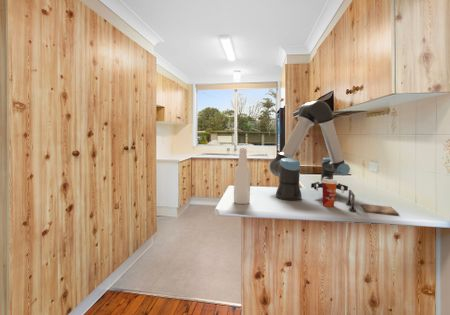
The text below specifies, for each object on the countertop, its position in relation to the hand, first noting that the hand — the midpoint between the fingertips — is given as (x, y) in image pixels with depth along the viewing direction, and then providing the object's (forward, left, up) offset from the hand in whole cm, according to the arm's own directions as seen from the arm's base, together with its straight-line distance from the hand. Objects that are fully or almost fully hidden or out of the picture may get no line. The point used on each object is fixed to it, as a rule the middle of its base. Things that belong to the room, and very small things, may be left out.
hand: (329, 189), depth 143 cm
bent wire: (+10, -7, -7) cm, 15 cm away
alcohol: (-46, -21, -8) cm, 51 cm away
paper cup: (-1, -8, -8) cm, 11 cm away
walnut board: (+23, -7, -7) cm, 25 cm away
